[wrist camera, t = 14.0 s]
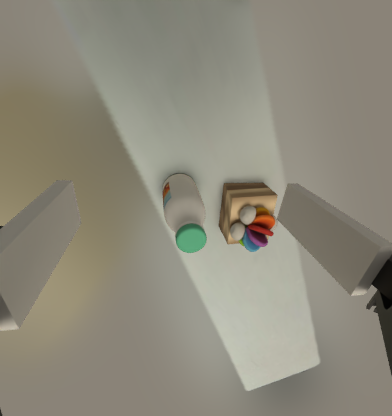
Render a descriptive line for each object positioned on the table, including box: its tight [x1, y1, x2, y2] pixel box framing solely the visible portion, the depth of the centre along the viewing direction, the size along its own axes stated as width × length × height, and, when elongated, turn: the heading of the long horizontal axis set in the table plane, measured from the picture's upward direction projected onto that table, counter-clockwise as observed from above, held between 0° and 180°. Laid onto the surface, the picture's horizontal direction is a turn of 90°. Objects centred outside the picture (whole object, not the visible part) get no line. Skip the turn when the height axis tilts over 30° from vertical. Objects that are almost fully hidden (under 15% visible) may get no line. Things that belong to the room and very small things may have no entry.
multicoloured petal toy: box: [230, 206, 277, 252], centre depth 43 cm, size 8×10×7 cm
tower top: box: [223, 188, 277, 244], centre depth 48 cm, size 12×10×4 cm
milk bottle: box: [163, 174, 206, 253], centre depth 39 cm, size 8×8×20 cm
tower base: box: [219, 183, 269, 234], centre depth 52 cm, size 12×10×4 cm
